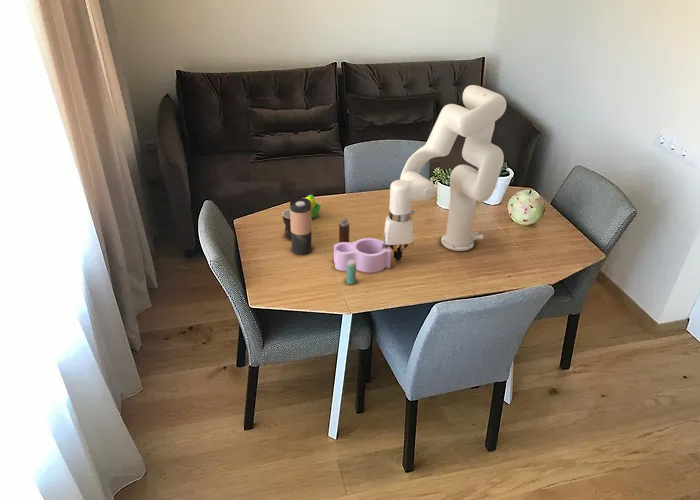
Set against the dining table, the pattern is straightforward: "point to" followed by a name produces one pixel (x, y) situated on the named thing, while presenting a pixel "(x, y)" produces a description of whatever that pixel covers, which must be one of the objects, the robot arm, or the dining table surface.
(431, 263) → the dining table surface
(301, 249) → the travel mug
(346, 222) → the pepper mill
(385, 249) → the clip
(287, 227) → the coffee mug
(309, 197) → the fruit basket
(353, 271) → the green cylinder
